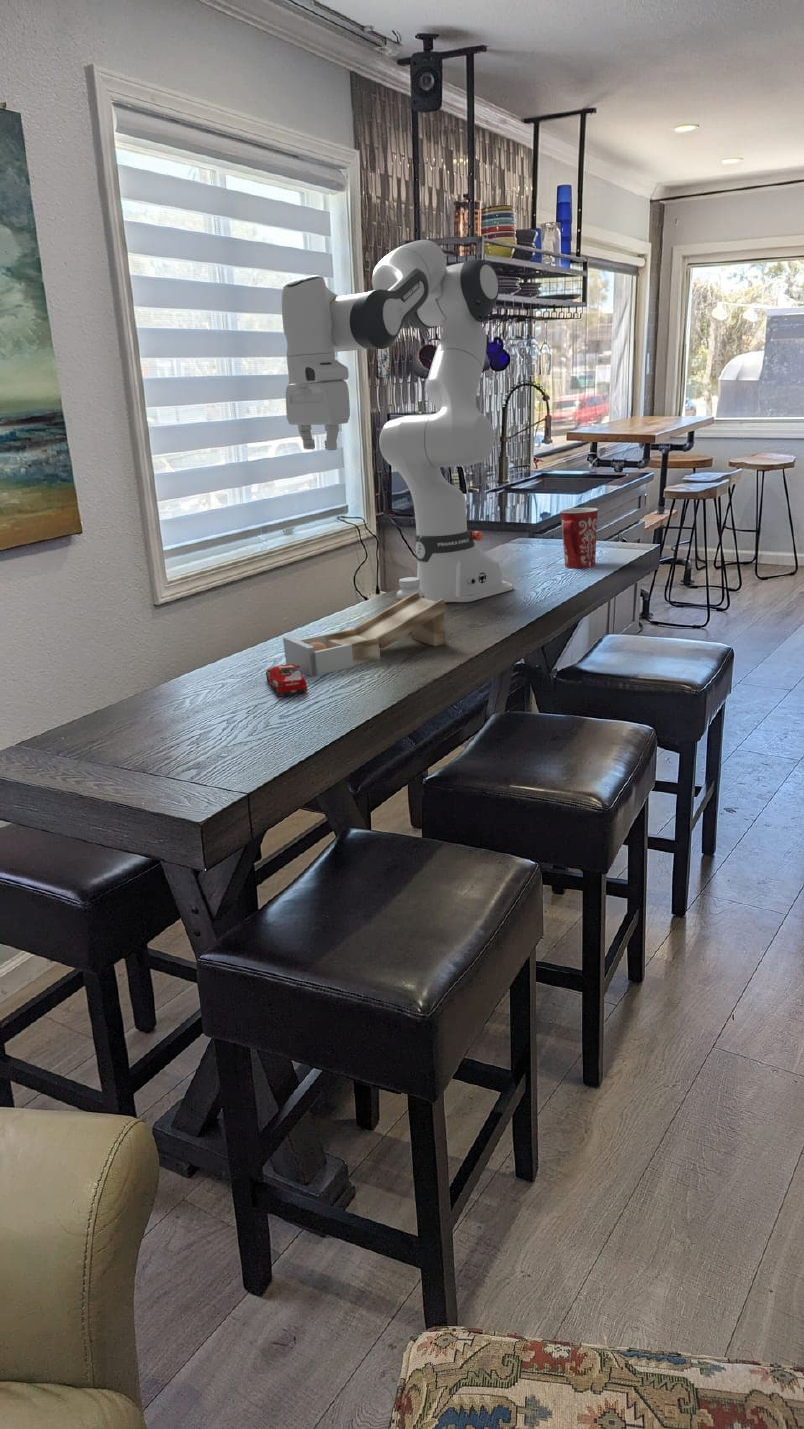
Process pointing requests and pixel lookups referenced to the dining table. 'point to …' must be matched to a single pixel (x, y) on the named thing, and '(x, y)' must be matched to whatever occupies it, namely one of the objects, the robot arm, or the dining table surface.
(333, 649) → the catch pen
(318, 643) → the ball
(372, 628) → the ramp
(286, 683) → the race car
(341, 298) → the robot arm
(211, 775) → the dining table surface
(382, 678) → the dining table surface
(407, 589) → the supplement bottle
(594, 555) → the mug
